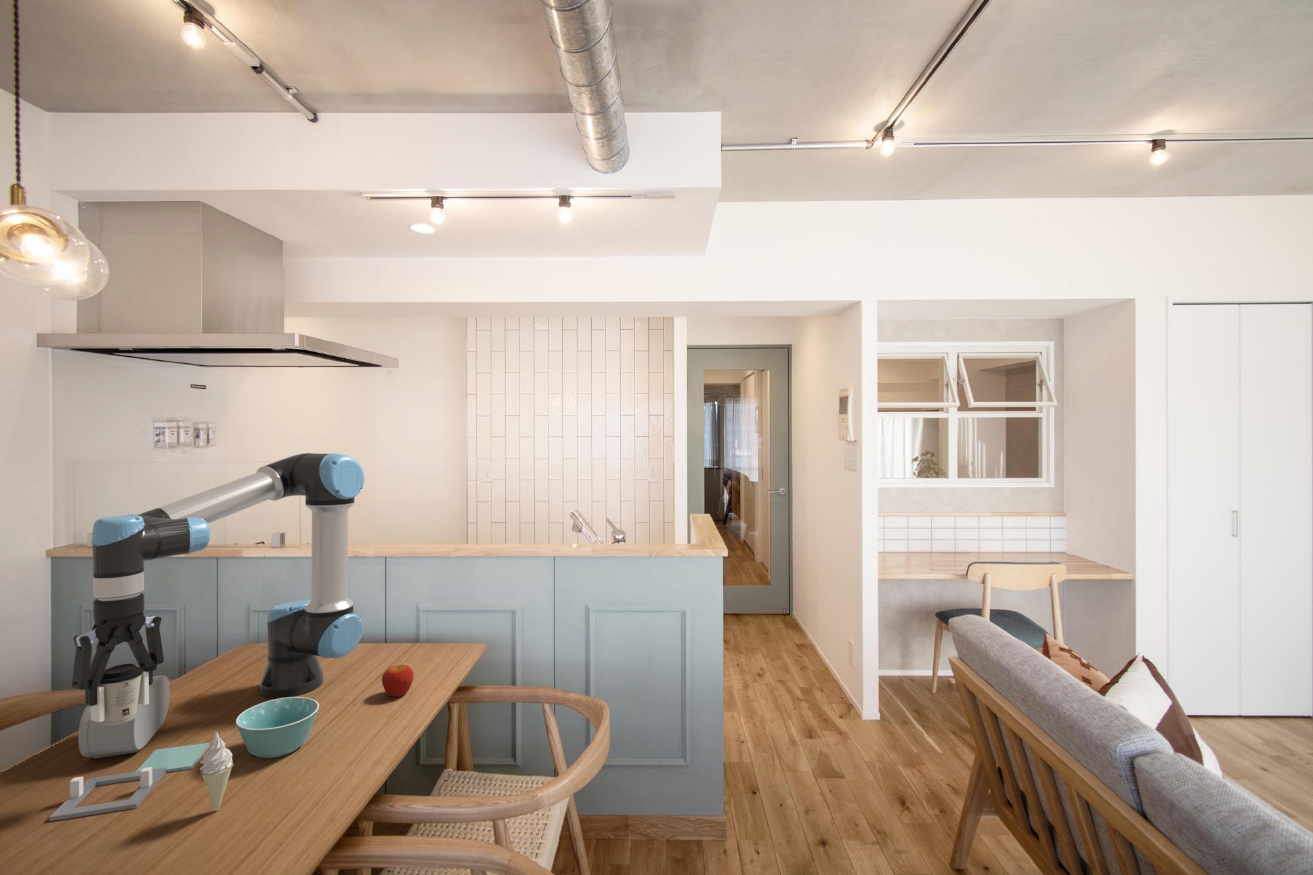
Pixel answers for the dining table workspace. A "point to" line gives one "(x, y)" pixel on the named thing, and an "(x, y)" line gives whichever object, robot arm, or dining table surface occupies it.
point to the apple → (397, 680)
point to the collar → (81, 790)
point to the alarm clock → (125, 726)
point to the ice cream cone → (216, 769)
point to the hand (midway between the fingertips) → (120, 711)
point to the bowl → (277, 725)
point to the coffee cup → (121, 693)
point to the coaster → (175, 757)
